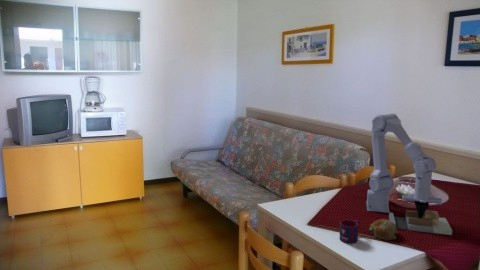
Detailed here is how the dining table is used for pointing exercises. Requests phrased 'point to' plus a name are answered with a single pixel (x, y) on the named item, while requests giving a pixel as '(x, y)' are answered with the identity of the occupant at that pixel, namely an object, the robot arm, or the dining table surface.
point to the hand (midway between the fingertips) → (419, 218)
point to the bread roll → (383, 229)
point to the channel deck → (420, 223)
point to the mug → (349, 231)
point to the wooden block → (431, 217)
